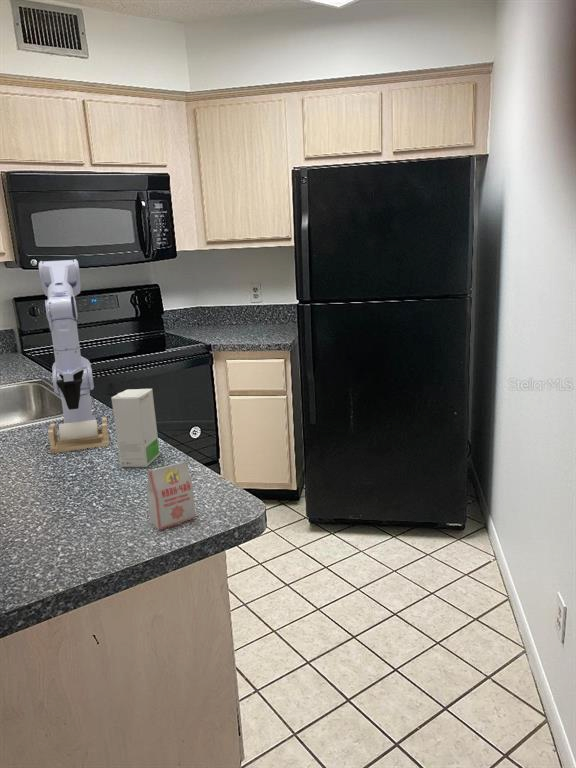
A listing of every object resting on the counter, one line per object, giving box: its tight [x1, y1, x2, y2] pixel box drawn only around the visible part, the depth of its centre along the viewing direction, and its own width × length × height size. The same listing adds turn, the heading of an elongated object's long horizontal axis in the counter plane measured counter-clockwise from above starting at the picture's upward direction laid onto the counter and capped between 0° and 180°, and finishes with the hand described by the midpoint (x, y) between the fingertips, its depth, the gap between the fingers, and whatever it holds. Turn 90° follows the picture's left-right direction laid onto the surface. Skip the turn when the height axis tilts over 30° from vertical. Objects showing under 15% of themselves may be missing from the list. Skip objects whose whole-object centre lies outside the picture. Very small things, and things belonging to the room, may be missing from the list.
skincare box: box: [111, 388, 161, 468], centre depth 130 cm, size 8×7×16 cm
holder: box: [47, 416, 110, 454], centre depth 144 cm, size 8×13×5 cm, turn 106°
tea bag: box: [146, 461, 197, 531], centre depth 102 cm, size 4×7×10 cm, turn 124°
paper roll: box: [58, 419, 100, 442], centre depth 144 cm, size 9×5×5 cm, turn 106°
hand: (74, 404), depth 143 cm, fingers open, 7 cm apart
